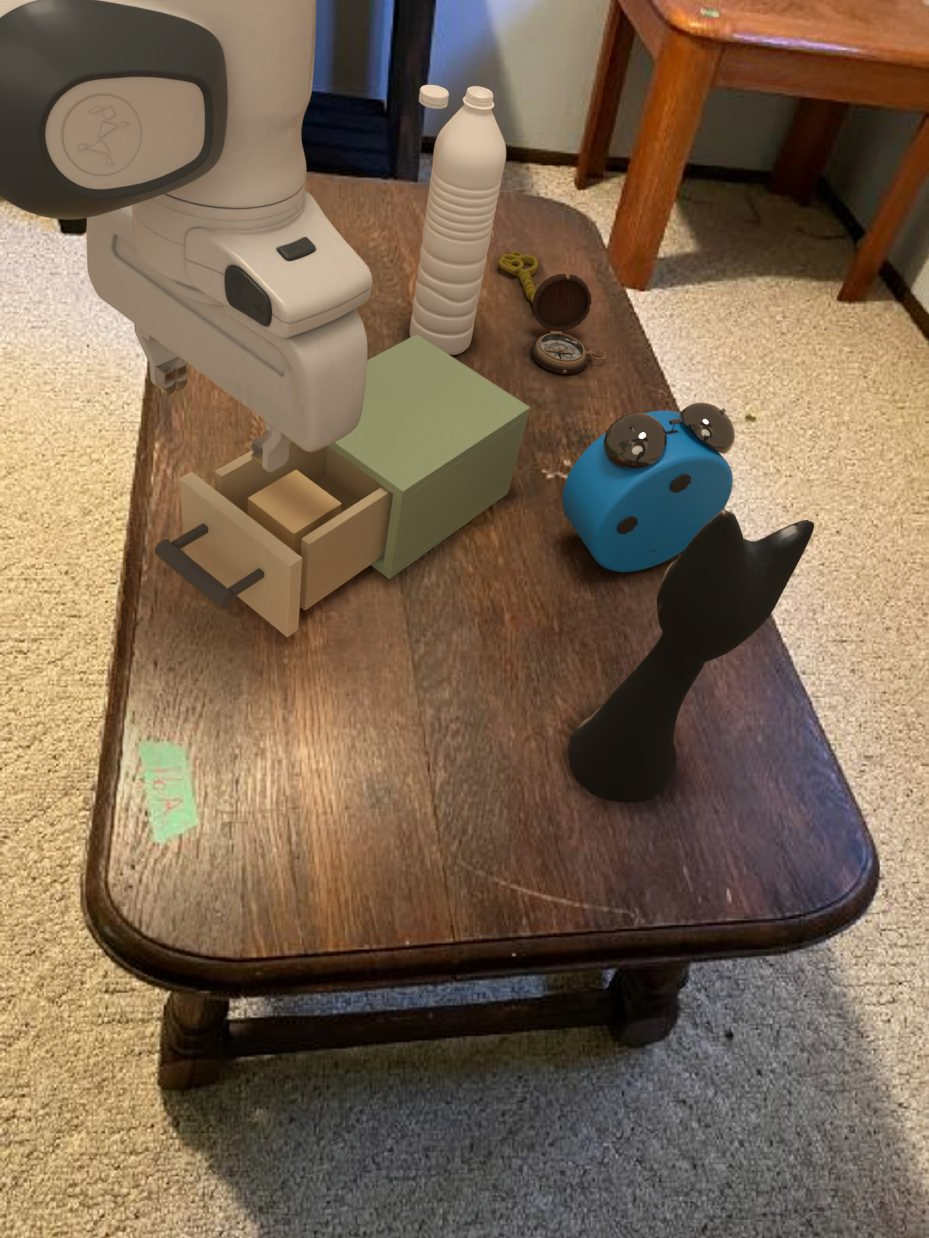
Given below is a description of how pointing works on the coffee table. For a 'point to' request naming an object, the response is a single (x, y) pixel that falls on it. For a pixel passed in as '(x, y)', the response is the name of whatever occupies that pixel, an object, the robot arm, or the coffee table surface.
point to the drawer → (258, 557)
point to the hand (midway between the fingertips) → (218, 423)
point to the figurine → (683, 652)
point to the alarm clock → (650, 485)
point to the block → (292, 508)
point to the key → (520, 270)
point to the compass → (561, 323)
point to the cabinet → (432, 445)
